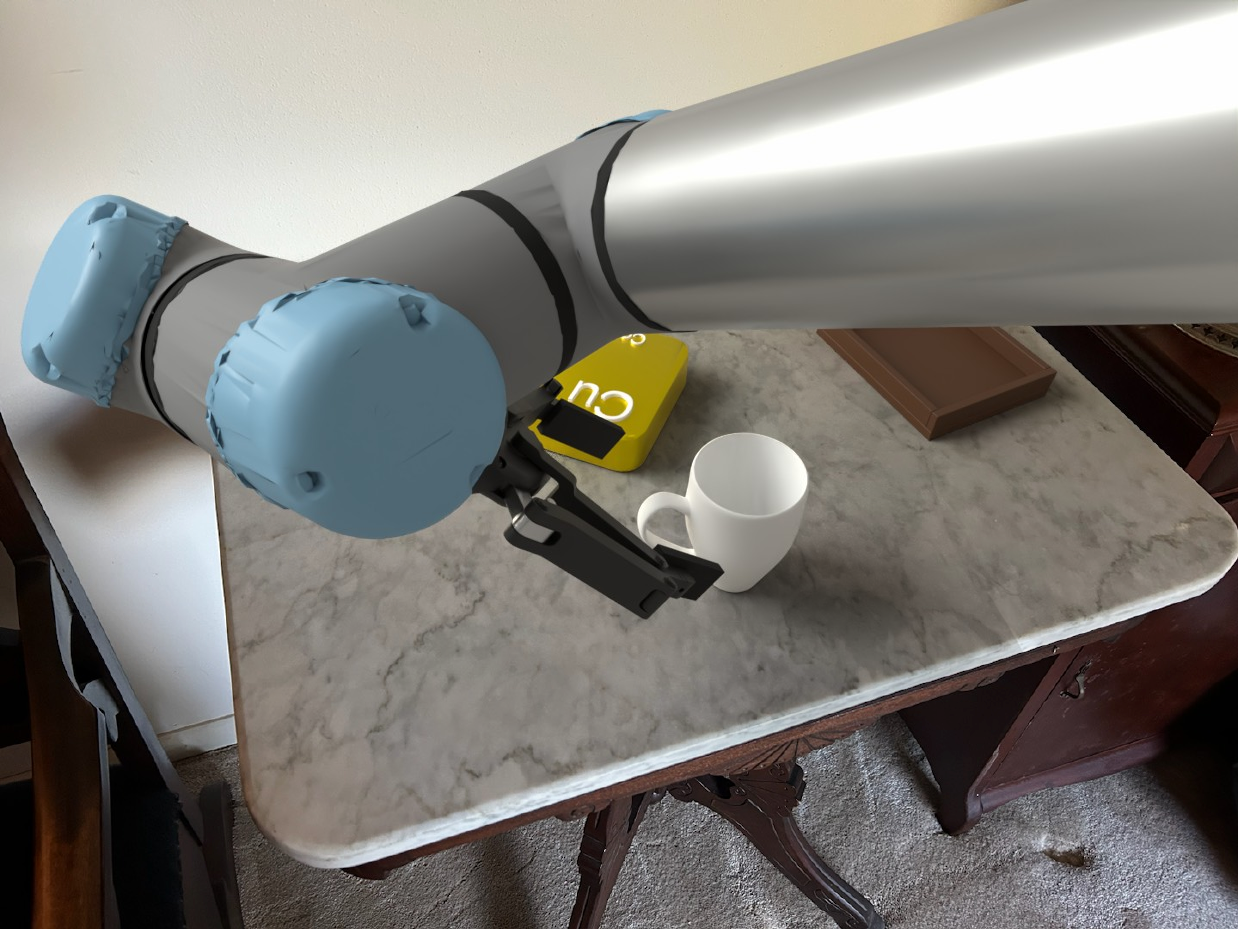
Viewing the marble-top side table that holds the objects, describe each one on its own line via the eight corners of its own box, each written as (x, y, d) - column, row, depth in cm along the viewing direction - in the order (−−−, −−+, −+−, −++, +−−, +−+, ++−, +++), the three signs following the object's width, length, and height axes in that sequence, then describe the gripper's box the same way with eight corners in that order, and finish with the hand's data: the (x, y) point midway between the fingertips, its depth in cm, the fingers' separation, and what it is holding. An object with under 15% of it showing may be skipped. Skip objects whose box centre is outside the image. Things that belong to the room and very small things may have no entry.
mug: (766, 523, 70) (788, 424, 62) (799, 606, 65) (828, 509, 56) (624, 543, 68) (627, 444, 60) (646, 630, 63) (652, 534, 55)
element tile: (691, 375, 83) (695, 336, 79) (636, 479, 73) (637, 440, 70) (553, 337, 87) (551, 299, 83) (483, 431, 77) (477, 392, 73)
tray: (1045, 395, 82) (1058, 371, 80) (928, 441, 77) (937, 417, 75) (925, 297, 92) (933, 274, 90) (815, 332, 88) (821, 309, 86)
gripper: (305, 326, 50) (548, 431, 66) (437, 663, 35) (713, 694, 51) (376, 227, 48) (610, 359, 64) (550, 539, 33) (801, 612, 48)
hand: (656, 508), depth 57 cm, fingers open, 13 cm apart
